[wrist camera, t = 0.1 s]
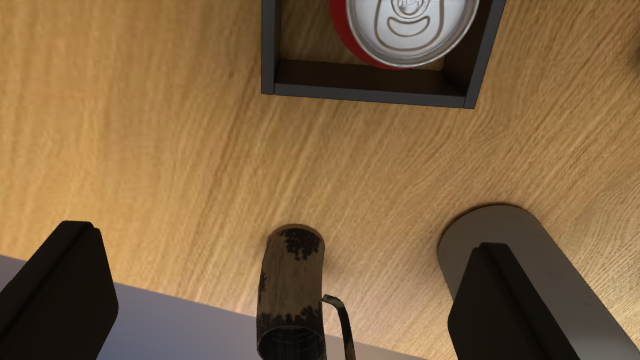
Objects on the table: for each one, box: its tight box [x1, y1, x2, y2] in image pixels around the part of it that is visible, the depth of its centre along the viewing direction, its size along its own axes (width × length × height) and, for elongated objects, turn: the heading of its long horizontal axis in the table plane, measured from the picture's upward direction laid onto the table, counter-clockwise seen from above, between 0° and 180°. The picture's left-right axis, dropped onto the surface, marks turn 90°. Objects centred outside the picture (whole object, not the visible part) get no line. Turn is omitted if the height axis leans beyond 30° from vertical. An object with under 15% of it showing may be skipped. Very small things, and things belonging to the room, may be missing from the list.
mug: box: [256, 224, 356, 360], centre depth 34 cm, size 8×6×12 cm
